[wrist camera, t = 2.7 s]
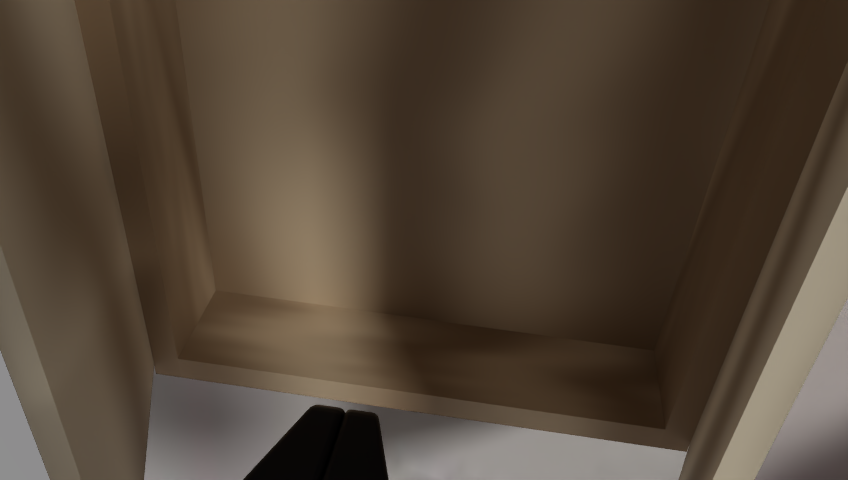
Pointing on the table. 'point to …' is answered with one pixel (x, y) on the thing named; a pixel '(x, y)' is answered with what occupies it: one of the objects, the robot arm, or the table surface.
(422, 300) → the carton
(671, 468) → the table surface
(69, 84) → the flap
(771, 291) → the flap
